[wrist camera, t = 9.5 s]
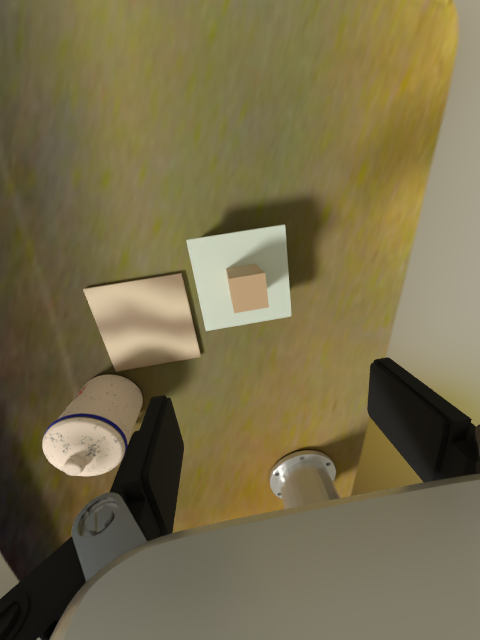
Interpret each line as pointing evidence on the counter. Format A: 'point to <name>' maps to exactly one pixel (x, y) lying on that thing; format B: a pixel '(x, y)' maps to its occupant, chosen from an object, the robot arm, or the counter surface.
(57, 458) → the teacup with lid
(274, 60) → the counter surface
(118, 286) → the mat
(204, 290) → the lid
